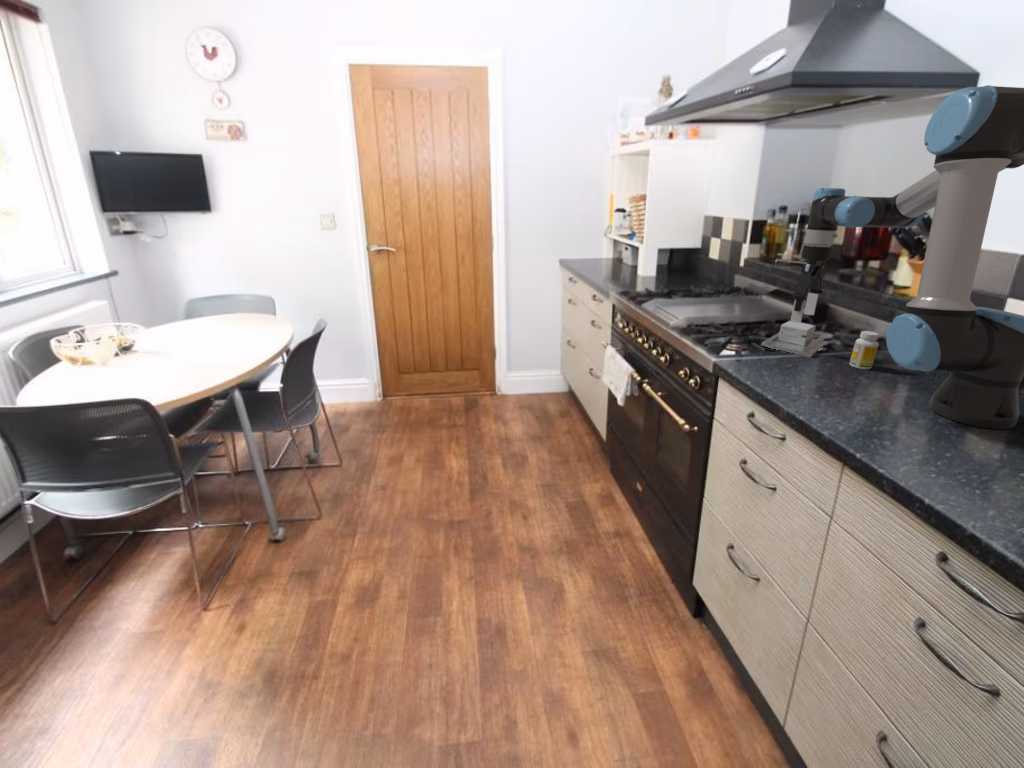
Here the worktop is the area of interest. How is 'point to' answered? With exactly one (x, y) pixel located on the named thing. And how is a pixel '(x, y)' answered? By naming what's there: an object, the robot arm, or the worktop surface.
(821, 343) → the board
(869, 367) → the supplement bottle
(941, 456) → the worktop surface
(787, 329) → the small box
